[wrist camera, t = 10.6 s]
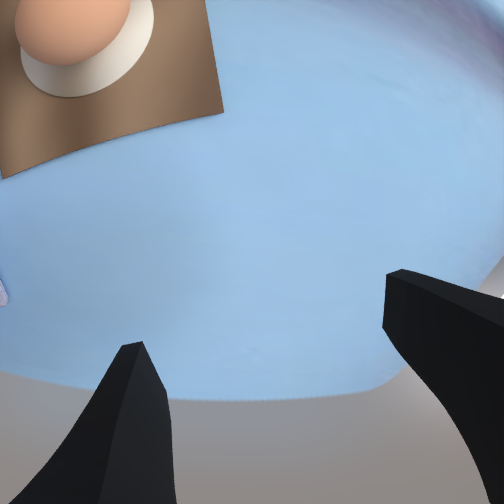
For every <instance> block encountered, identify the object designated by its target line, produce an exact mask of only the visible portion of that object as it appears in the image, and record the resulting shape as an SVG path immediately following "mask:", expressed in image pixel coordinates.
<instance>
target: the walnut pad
mask: <svg viewBox="0 0 504 504" xmlns="http://www.w3.org/2000/svg"><path fill="white" fill-rule="evenodd" d="M19 1H20V0H0V168H1V172H2V176H3V179H5V178H7V177H10V176H12V175H14V174H17V173H19V172H21V171H24V170H26V169H29V168H31V167H33V166H36V165H39V164H41V163H44V162H46V161H49V160H52V159H54V158H57V157H60V156H62V155H65V154H68V153H71V152H74V151H77V150H80V149H82V148H85V147H89V146H92V145H95V144H98V143H101V142H104V141H108V140H111V139H114V138H118V137H121V136H125V135H128V134H132V133H135V132H139V131H143V130H147V129H151V128H155V127H159V126H163V125H167V124H171V123H176V122H180V121H185V120H189V119H194V118H199V117H204V116H209V115H214V114H220V113H224V108H223V103H222V97H221V91H220V85H219V80H218V74H217V68H216V62H215V57H214V51H213V45H212V39H211V34H210V28H209V22H208V16H207V11H206V5H205V0H131V3H130V10H129V14H128V17H127V19H126V22H125V24H124V26H123V27H122V29H121V31H120V32H119V34H118V35H117V36H116V38H115V39H114V40H113V41H112V42H111V43H110V44H109V45H108V46H107V47H105V48H104V49H103V50H102V51H100V52H99V53H97V54H96V55H94V56H92V57H90V58H89V59H86V60H84V61H81V62H78V63H75V64H70V65H49V64H45V63H42V62H39V61H37V60H35V59H33V58H32V57H31V56H29V55H28V54H27V53H26V52H25V51H24V50H23V48H22V47H21V45H20V43H19V41H18V39H17V36H16V32H15V15H16V10H17V7H18V4H19Z"/></svg>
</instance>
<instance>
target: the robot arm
mask: <svg viewBox="0 0 504 504" xmlns="http://www.w3.org/2000/svg"><path fill="white" fill-rule="evenodd" d="M8 299H9V298H8V295H7V293H6V291H5V289H4V287H3V284H2V282H1V280H0V307H3V306H5V305H6V304H7V303H8ZM382 328H383V329H384V331H385V332H386V334H387V336H388V337H389V339H390V341H391V342H392V344H393V345H394V347H395V348H396V350H397V351H398V352H399V354H400V355H401V356H402V357H403V358H404V360H405V361H406V362H407V363H408V364H409V365H410V367H411V368H412V369H413V370H414V371H415V372H416V374H417V375H418V376H419V377H420V378H421V379H422V380H423V382H424V383H425V384H426V385H427V386H428V387H429V389H430V390H431V391H432V392H433V393H434V395H435V396H436V397H437V398H438V399H439V401H440V402H441V403H442V405H443V406H444V407H445V409H446V410H447V412H448V414H449V415H450V417H451V418H452V420H453V422H454V423H455V425H456V427H457V428H458V430H459V432H460V434H461V435H462V437H463V439H464V441H465V443H466V445H467V446H468V448H469V450H470V453H471V455H472V456H473V459H474V461H475V463H476V465H477V468H478V470H479V472H480V475H481V478H482V481H483V483H484V486H485V489H486V492H487V496H488V499H489V502H490V503H491V504H504V299H501V298H498V297H494V296H490V295H486V294H483V293H480V292H477V291H473V290H470V289H467V288H464V287H461V286H458V285H455V284H451V283H448V282H445V281H442V280H439V279H436V278H433V277H430V276H427V275H424V274H420V273H417V272H413V271H409V270H404V269H401V270H398V271H395V272H392V273H389V274H386V289H385V303H384V315H383V326H382ZM174 487H175V486H174V470H173V453H172V430H171V419H170V411H169V405H168V399H167V392H166V390H165V388H164V386H163V384H162V382H161V380H160V378H159V376H158V374H157V371H156V369H155V367H154V365H153V363H152V361H151V359H150V357H149V355H148V352H147V350H146V348H145V346H144V344H143V341H141V342H136V343H132V344H127V345H122V346H121V348H120V349H119V351H118V353H117V354H116V356H115V358H114V360H113V361H112V363H111V365H110V366H109V368H108V370H107V372H106V373H105V375H104V377H103V379H102V380H101V382H100V384H99V386H98V387H97V389H96V391H95V392H94V394H93V396H92V398H91V399H90V401H89V403H88V404H87V406H86V407H85V409H84V410H83V412H82V413H81V415H80V417H79V418H78V420H77V421H76V423H75V424H74V426H73V428H72V429H71V431H70V432H69V434H68V435H67V437H66V438H65V439H64V441H63V442H62V444H61V445H60V446H59V448H58V449H57V450H56V452H55V453H54V454H53V456H52V457H51V458H50V459H49V461H48V462H47V463H46V464H45V466H44V467H43V468H42V469H41V470H40V471H39V472H38V473H37V475H36V476H35V477H34V478H33V479H32V480H31V481H30V483H29V484H28V485H27V486H26V487H25V488H24V489H23V490H22V491H21V493H19V494H18V495H17V496H16V497H15V498H14V499H13V500H12V501H11V502H10V503H9V504H177V503H176V495H175V488H174Z"/></svg>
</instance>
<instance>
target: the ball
mask: <svg viewBox="0 0 504 504" xmlns="http://www.w3.org/2000/svg"><path fill="white" fill-rule="evenodd" d="M130 3H131V0H20V1H19V4H18V7H17V10H16V15H15V32H16V36H17V39H18V41H19V43H20V45H21V47H22V48H23V50H24V51H25V52H26V53H27V54H28V55H29V56H31V57H32V58H33V59H35V60H37V61H39V62H42V63H45V64H49V65H70V64H75V63H78V62H81V61H84V60H86V59H89V58H90V57H92V56H94V55H96V54H97V53H99V52H100V51H102V50H103V49H104V48H105V47H107V46H108V45H109V44H110V43H111V42H112V41H113V40H114V39H115V38H116V36H117V35H118V34H119V32H120V31H121V29H122V27H123V26H124V24H125V22H126V19H127V17H128V14H129V10H130Z"/></svg>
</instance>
